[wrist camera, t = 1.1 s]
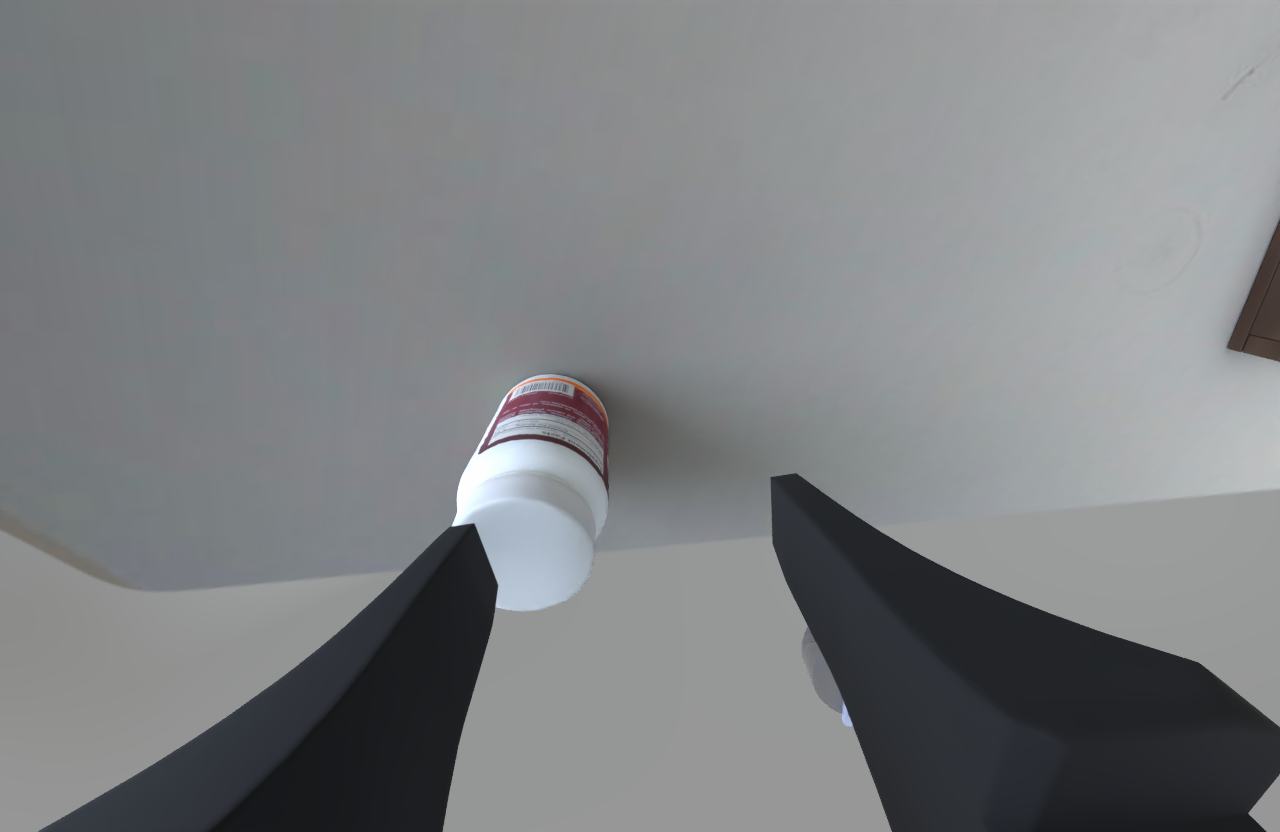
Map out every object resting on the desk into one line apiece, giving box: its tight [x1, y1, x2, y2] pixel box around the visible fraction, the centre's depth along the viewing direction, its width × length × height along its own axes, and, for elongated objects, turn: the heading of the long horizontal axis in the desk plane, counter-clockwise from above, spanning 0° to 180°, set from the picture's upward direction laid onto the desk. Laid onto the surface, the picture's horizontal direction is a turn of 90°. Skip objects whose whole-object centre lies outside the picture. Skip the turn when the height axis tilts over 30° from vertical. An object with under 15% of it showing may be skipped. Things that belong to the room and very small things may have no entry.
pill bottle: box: [452, 374, 609, 611], centre depth 16 cm, size 5×5×8 cm
